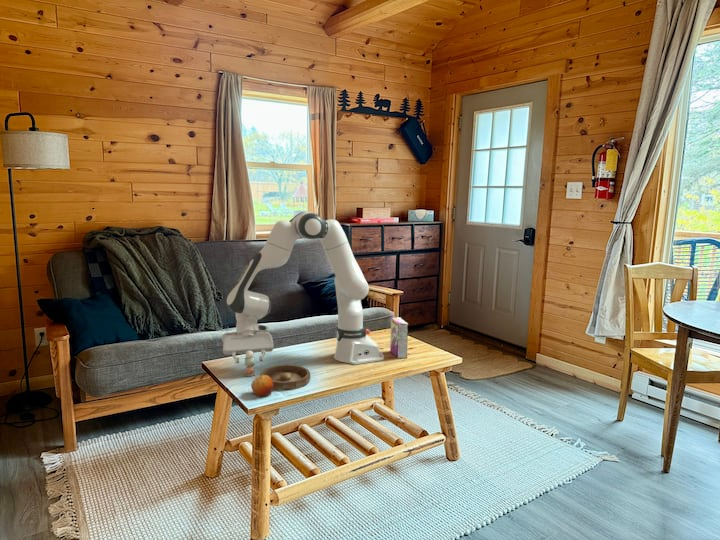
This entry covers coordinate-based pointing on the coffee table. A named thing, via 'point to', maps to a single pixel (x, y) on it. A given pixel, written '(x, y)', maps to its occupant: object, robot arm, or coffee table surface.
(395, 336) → the candy bar box
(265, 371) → the walnut tray
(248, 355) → the bead column
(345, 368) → the coffee table surface
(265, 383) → the fruit
